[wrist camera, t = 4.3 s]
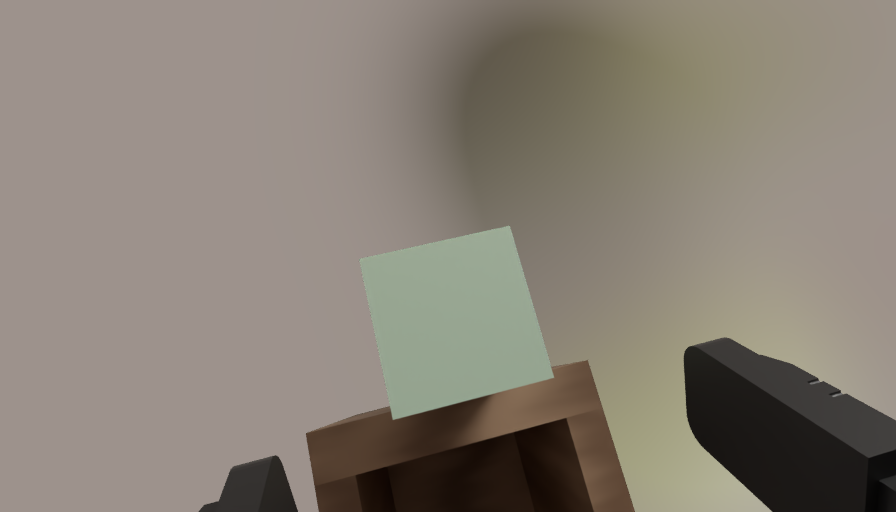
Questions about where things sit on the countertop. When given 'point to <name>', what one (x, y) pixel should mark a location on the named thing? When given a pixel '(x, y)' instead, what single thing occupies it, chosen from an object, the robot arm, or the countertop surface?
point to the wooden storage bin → (477, 454)
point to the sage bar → (453, 321)
